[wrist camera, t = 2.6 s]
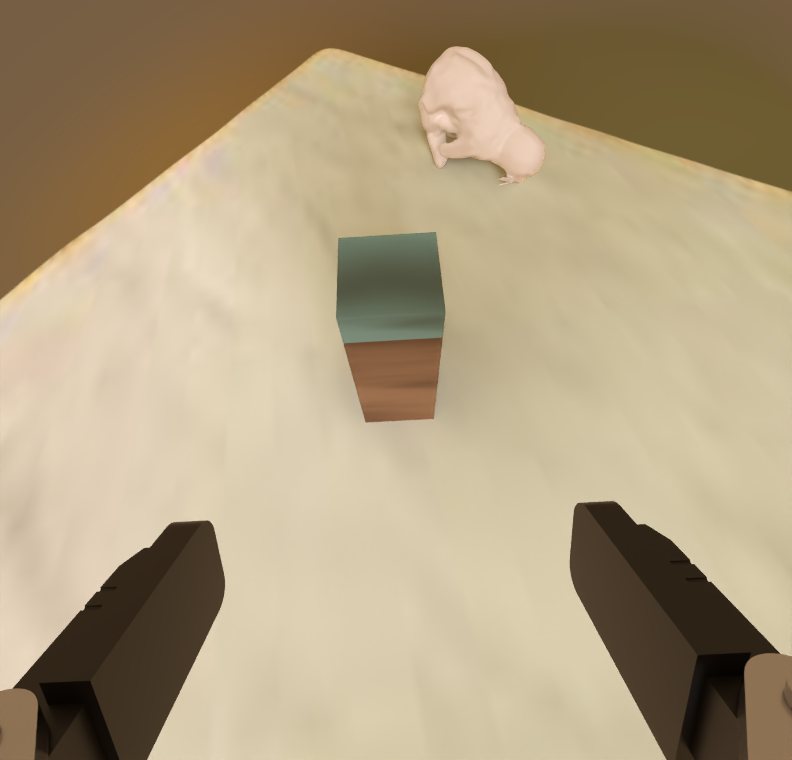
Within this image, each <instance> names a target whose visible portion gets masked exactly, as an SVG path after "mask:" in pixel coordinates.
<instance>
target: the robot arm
mask: <svg viewBox="0 0 792 760" xmlns="http://www.w3.org/2000/svg"><path fill="white" fill-rule="evenodd" d="M570 572H571V577H572V581H573V584H574V587H575V590H576V592H577V594H578V596H579V598H580V600H581V602H582V604H583V605H584V607H585V609H586V611H587V613H588V615H589V617H590V618H591V620H592V622H593V624H594V626H595V628H596V629H597V631H598V633H599V635H600V637H601V639H602V641H603V642H604V644H605V646H606V648H607V650H608V652H609V654H610V655H611V657H612V659H613V661H614V663H615V665H616V667H617V668H618V670H619V672H620V674H621V676H622V678H623V680H624V681H625V683H626V685H627V687H628V689H629V691H630V693H631V694H632V696H633V698H634V700H635V702H636V704H637V706H638V707H639V709H640V711H641V713H642V715H643V717H644V719H645V720H646V722H647V724H648V726H649V728H650V730H651V732H652V733H653V735H654V737H655V739H656V741H657V743H658V745H659V746H660V748H661V750H662V752H663V754H664V756H665V758H666V759H667V760H792V657H791V656H787V655H783V654H780V653H779V652H778V651H777V650H776V649H775V648H774V647H773V646H772V645H771V644H770V642H769V641H768V640H767V639H766V638H765V637H764V636H763V635H762V634H761V633H760V632H759V631H758V630H757V629H756V628H755V627H754V626H753V625H752V624H751V623H750V622H749V621H748V620H747V619H746V618H745V617H744V616H743V614H742V613H741V612H740V611H739V610H738V609H737V608H736V607H735V606H734V605H733V604H732V603H731V602H730V601H729V600H728V599H727V598H726V597H725V596H724V595H723V594H722V593H721V592H720V591H719V590H718V589H717V587H716V586H715V585H714V584H713V583H712V582H708V581H707V577H706V576H705V575H704V574H703V573H702V572H701V571H700V570H699V569H698V568H697V567H696V566H695V565H694V564H691V563H690V559H689V558H688V557H687V556H686V555H685V554H684V553H683V552H682V551H681V550H680V549H679V548H678V547H677V546H676V545H675V544H674V543H673V542H672V541H671V540H670V539H668V538H667V537H665V536H663V535H662V534H660V533H659V532H657V531H655V530H654V529H652V528H650V527H649V526H647V525H646V524H639V525H637V524H636V523H635V522H634V521H633V520H632V519H631V517H630V516H629V515H628V514H627V513H626V512H625V511H624V510H623V508H622V507H621V506H620V505H619V504H618V503H616V502H614V501H607V502H587V503H578V504H577V505H576V506H575V509H574V516H573V528H572V540H571V551H570ZM224 591H225V577H224V572H223V567H222V563H221V558H220V554H219V549H218V544H217V540H216V535H215V531H214V527H213V525H212V523H211V522H210V521H190V522H173V523H171V524H170V525H168V526H167V528H166V529H165V530H164V531H163V532H162V534H161V535H160V536H159V537H158V538H157V540H156V541H155V542H154V543H153V545H152V546H151V547H150V548H144V549H142V550H141V551H139V552H138V553H137V554H135V555H134V556H133V557H131V558H130V559H128V560H127V561H126V562H124V563H123V564H122V565H120V566H119V567H118V568H117V569H116V570H115V572H114V573H113V574H112V575H111V576H110V577H109V578H108V580H107V581H106V582H105V583H104V584H103V585H102V587H101V590H100V592H96V593H95V595H94V596H93V597H92V598H91V599H90V600H89V601H88V603H87V604H86V605H85V609H84V610H83V611H80V612H79V613H78V614H77V615H76V616H75V618H74V619H73V620H72V621H71V622H70V623H69V624H68V626H67V627H66V628H65V629H64V630H63V631H62V632H61V634H60V635H59V636H58V637H57V638H56V639H55V640H54V642H53V643H52V644H51V645H50V646H49V647H48V649H47V650H46V651H45V652H44V653H43V654H42V655H41V657H40V658H39V659H38V660H37V661H36V662H35V663H34V665H33V666H32V667H31V668H30V669H29V670H28V671H27V673H26V674H25V675H24V676H23V677H22V678H21V679H20V681H19V682H18V683H17V684H16V685H15V686H14V687H13V689H8V690H3V691H0V760H147V759H148V756H149V754H150V752H151V750H152V748H153V746H154V744H155V742H156V740H157V738H158V736H159V734H160V732H161V730H162V728H163V726H164V723H165V721H166V719H167V717H168V715H169V713H170V711H171V709H172V707H173V705H174V703H175V701H176V699H177V697H178V695H179V693H180V690H181V688H182V686H183V684H184V682H185V680H186V678H187V676H188V674H189V672H190V670H191V668H192V666H193V664H194V662H195V659H196V657H197V655H198V653H199V651H200V649H201V647H202V645H203V643H204V641H205V639H206V637H207V635H208V633H209V631H210V629H211V626H212V624H213V622H214V620H215V618H216V616H217V614H218V612H219V610H220V608H221V605H222V602H223V597H224Z"/></svg>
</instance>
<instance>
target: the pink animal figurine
mask: <svg viewBox="0 0 792 760" xmlns="http://www.w3.org/2000/svg"><path fill="white" fill-rule="evenodd" d="M418 106H419V109H420V114H421V122H422V126H423V128H424V129H425V130H426V131H427V139H428V144H429V146H430V148H431V152H432V155H433V159H434V163H435V165H436V166H437V167H438V168H442V167H443V166H444V165H445V163H446V162H447V159H448V158H467V157H473V158H475V159H478V160H489V161H491V162H492V163H494V164H497V165H499V166H500V167H501V168H503V169H504V170H505V171H506V173H507V176H506V177H508V178H505V177H501V178H502V179H499V180H503V181H505V182H506V183H502V184H500V185H504V184H508V183H511V182H517V183H520V182H522V181H523V180H524V179H526V178H527V177H530V176H533V175H534V174H536V173H537V172H538V170H539V169H540V167H541V165H542V163H543V161H544V157H545V145H544V143H543V141H542V140H541V138H540V137H539V136H538V135H537V134H536V133H535V132H534V131H533V130H532V129H530V128H529V127H527V126H525V125H522V124H521V123H520V118H519V116H518V113H517V109H516V107H515V106H514V102H513V101H512V100H511V99H510V98H509V96H508V93H507V89H506V86H505V83H504V81H503V80H502V79H501V77H500V76H499V74H498V73H497V72H496V71H495V70H494V69H493V68H492V65H491V64H490V62H489V61H487V59H485V58H484V57H483V56H482V55H480V54H479V53H477V52H476V51H474V50H472V49H469V48H467V47H451V48H448V49H447V50H445V51H444V53H443V54H442V55H441V56H440V57H439V58H438V59H437V60H436V61H435V62H434V63H433V64H432V66H431V68H430V69H429V71H428V73H427V75H426V78H425V83H424V87H423V94H422V96H421V97H420V99H419V101H418ZM446 135H447V136H448V137H450V138H452V139H453V140H454V141H452V142H450V143H447V140H446ZM502 176H503V175H502Z"/></svg>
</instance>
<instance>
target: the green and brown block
mask: <svg viewBox="0 0 792 760" xmlns="http://www.w3.org/2000/svg"><path fill="white" fill-rule="evenodd" d="M336 319H337V322H338V326H339V329H340V333H341V336H342V340H343V343H344V347H345V350H346V354H347V357H348V361H349V365H350V368H351V372H352V375H353V379H354V382H355V386H356V389H357V393H358V396H359V400H360V404H361V407H362V411H363V414H364V418H365V421H366V422H382V421H401V420H419V419H434V410H435V401H436V392H437V383H438V374H439V365H440V356H441V347H442V338H443V329H444V320H445V304H444V296H443V287H442V279H441V271H440V263H439V254H438V246H437V238H436V232H431V233H415V234H399V235H383V236H366V237H350V238H339V239H338V275H337V310H336Z"/></svg>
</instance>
